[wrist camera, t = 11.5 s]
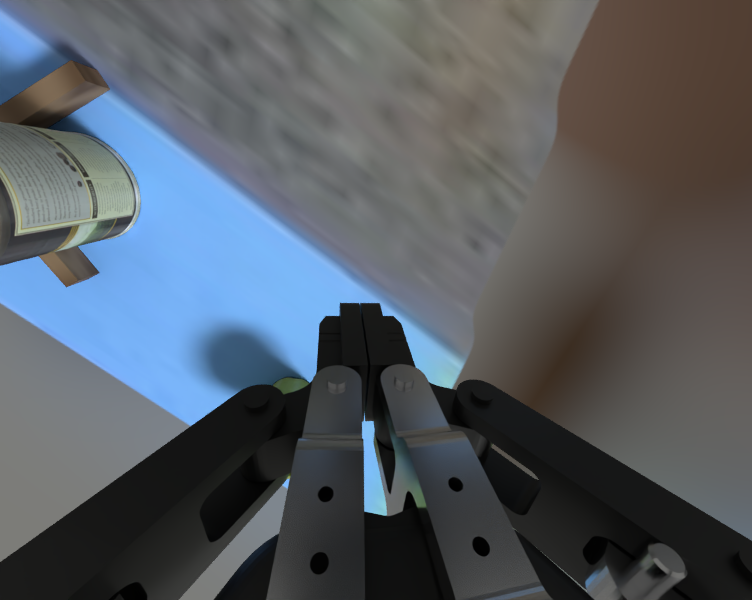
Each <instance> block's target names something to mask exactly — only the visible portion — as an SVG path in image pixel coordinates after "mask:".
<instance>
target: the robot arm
mask: <svg viewBox="0 0 752 600" xmlns="http://www.w3.org/2000/svg"><path fill="white" fill-rule="evenodd" d="M364 412H365V421H374V428H375V433H374V447H375V452H376V457H377V461H378V466H379V471H380V475H381V480H382V485H383V490H384V494H385V499H386V506H387V516H383V515H378V514H373V513H368V512H364V447H363V439H362V421H364ZM493 444H494V445H496V446H497V447H499V448H500V449H501V450H503V451H504V452H506V453H507V454H508V455H510V456H511V457H512V458H514V459H515V460H517V461H518V462H519V463H521V464H522V465H524V466H525V467H526V468H528V469H529V470H531V471H532V472H533V473H534V474H535V475H536V476H537V477H538V479H539V480H537V479H534V478H532V477H531V476H530V475H528V474H527V473H525V472H524V471H523V470H521V469H520V468H519V467H517V466H516V465H514V464H513V463H512V462H510V461H509V460H508V459H506V458H505V457H503V456H502V455H501V454H499V453H498V452H497V451H495V450H494V449H492V448H491V447H492V445H493ZM290 473H291V476H290V481H289V486H288V491H287V496H286V501H285V506H284V512H283V517H282V522H281V527H280V532H279V534H277V535H275V536H274V537H272V538H271V539H269V540H268V541H266V542H265V543H264V544H263V545H261V546H260V547H259V548H258V549H257V550H255V551H254V552H253V553H252V554H251V555H250V556H249V557H248V558H247V559H246V560H245V561H244V562H243V564H242V565H241V566H240V567H239V568H238V570H237V571H236V572H235V573H234V575H233V576H232V577H231V578H230V580H229V581H228V582H227V584H226V585H225V586H224V588H223V589H222V590H221V591H220V592H219V594H218V595H217V596H216V598H215V599H214V600H752V541H751V540H749V539H748V538H746V537H744V536H743V535H741V534H739V533H738V532H736V531H734V530H733V529H731V528H729V527H728V526H726V525H725V524H723V523H721V522H720V521H718V520H716V519H715V518H713V517H711V516H710V515H708V514H706V513H705V512H703V511H701V510H699V509H698V508H696V507H694V506H693V505H691V504H690V503H688V502H686V501H685V500H683V499H681V498H680V497H678V496H676V495H675V494H673V493H671V492H669V491H668V490H666V489H665V488H663V487H661V486H660V485H658V484H656V483H655V482H653V481H651V480H649V479H648V478H646V477H645V476H643V475H641V474H640V473H638V472H636V471H635V470H633V469H631V468H629V467H628V466H626V465H625V464H623V463H621V462H620V461H618V460H616V459H615V458H613V457H611V456H609V455H608V454H606V453H605V452H603V451H601V450H600V449H598V448H596V447H595V446H593V445H591V444H589V443H588V442H586V441H585V440H583V439H581V438H580V437H578V436H576V435H575V434H573V433H571V432H570V431H568V430H566V429H565V428H563V427H561V426H560V425H558V424H556V423H554V422H553V421H551V420H550V419H548V418H546V417H545V416H543V415H541V414H540V413H538V412H536V411H535V410H533V409H531V408H530V407H528V406H526V405H524V404H523V403H521V402H520V401H518V400H516V399H515V398H513V397H511V396H510V395H508V394H506V393H505V392H503V391H501V390H499V389H498V388H496V387H495V386H493V385H491V384H489V383H487V382H484V381H481V380H466V381H464V382H462V383H460V384H459V385H458V387H457V390H453V389H449V388H444V387H440V386H436V385H434V384H431V383H430V382H428V380H427V378H426V376H425V375H424V374H423V372H421V371H420V370H419V369H417V368H416V367H415V364H414V361H413V358H412V355H411V352H410V349H409V346H408V343H407V342H406V337H405V334H404V331H403V328H402V325H401V323H400V322H399V321H398V320H397V319H396V318H395V317H394V316H383V314H382V310H381V306H380V303H360V305H359V303H340V315H339V316H325V318H324V319H323V320H322V321H321V323H320V325H319V343H318V358H317V372H316V375H315V376H314V378H313V380H312V381H311V383H309V384H308V385H307V386H305V387H304V388H302V389H299V390H297V391H294V392H290V393H286V394H283V393H282V391H281V390H280V389H278V388H276V387H274V386H271V385H263V384H261V385H254V386H250V387H247V388H245V389H243V390H241V391H240V392H238V393H237V394H236V395H234V396H233V397H231V398H230V399H228V400H227V401H226V402H224V403H223V404H221V405H220V406H219V407H217V408H216V409H214V410H213V411H212V412H210V413H209V414H207V415H206V416H205V417H203V418H202V419H200V420H199V421H198V422H196V423H195V424H193V425H192V426H191V427H189V428H188V429H186V430H185V431H184V432H182V433H181V434H179V435H178V436H177V437H175V438H174V439H172V440H171V441H170V442H168V443H167V444H165V445H164V446H163V447H161V448H160V449H158V450H157V451H156V452H154V453H153V454H151V455H150V456H149V457H147V458H146V459H144V460H143V461H142V462H140V463H139V464H137V465H136V466H135V467H133V468H132V469H130V470H129V471H128V472H126V473H125V474H123V475H122V476H121V477H119V478H118V479H116V480H115V481H114V482H112V483H111V484H109V485H108V486H106V487H105V488H104V489H102V490H101V491H99V492H98V493H97V494H95V495H94V496H92V497H91V498H90V499H88V500H87V501H86V502H84V503H83V504H81V505H80V506H78V507H77V508H76V509H74V510H73V511H71V512H70V513H69V514H67V515H66V516H64V517H63V518H62V519H60V520H59V521H57V522H56V523H55V524H53V525H52V526H50V527H49V528H48V529H46V530H45V531H43V532H42V533H40V534H39V535H38V536H36V537H35V538H33V539H32V540H31V541H29V542H28V543H26V544H25V545H24V546H22V547H21V548H19V549H18V550H17V551H15V552H14V553H12V554H11V555H10V556H8V557H7V558H6V559H4V560H3V561H1V562H0V600H179V599H180V598H181V596H182V595H183V594H184V593H185V592H186V591H187V590H188V589H189V588H190V586H191V585H192V584H193V583H194V582H195V581H196V580H197V579H198V577H199V576H200V575H201V574H202V573H203V572H204V571H205V570H206V569H207V568H208V566H209V565H210V564H211V563H212V562H213V561H214V560H215V559H216V558H217V557H218V555H219V554H220V553H221V552H222V551H223V550H224V549H225V548H226V547H227V545H228V544H229V543H230V542H231V541H232V540H233V539H234V538H235V536H236V535H237V534H238V533H239V532H240V531H241V530H242V529H243V527H245V525H246V524H247V523H248V522H249V521H250V520H251V519H252V518H253V517H254V516H255V514H256V513H257V512H258V511H259V510H260V509H261V508H262V507H263V505H264V504H265V503H266V502H267V501H268V500H269V499H270V498H271V497H272V496H273V494H274V493H275V492H276V491H277V490H278V489H279V488H280V487H281V486H282V484H283V483H284V482H285V481H286V479H287V478H288V476H289V474H290ZM513 528H514V529H516V530H517V531H518V532H517V531H516V530H514V529H513ZM536 547H537V548H538V549H537V548H536ZM542 552H543V553H544V554H545V555H546V556H547V557H546V556H545V555H544V554H543V553H542ZM549 558H550V559H551V560H552V561H553V562H554V563H555V564H557V565H558V566H559V567H560V568H561V569H563V570H564V571H565V572H566V573H567V574H568V575H570V576H571V577H572V578H573V579H574V580H576V581H577V582H578V583H579V584H580V585H581V586H582V587H584V588H585V589H586V590H587V592H585V591H584V590H583V589H582V588H581V587H580V586H579V585H577V583H575V582H574V581H573V580H572V579H571V578H570V577H569V576H568V575H566V574H565V573H564V572H563V571H562V570H561V569H560V568H559V567H557V566H556V565H555V564H554V563H553V562H552V561H551V560H550V559H549Z"/></svg>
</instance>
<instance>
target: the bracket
mask: <svg viewBox="0 0 752 600" xmlns="http://www.w3.org/2000/svg"><path fill="white" fill-rule="evenodd" d="M108 90H110V88H109V87H108V85H107V84H106V82H105V81H104V80H103V78H102V77H101V75H100V74H99V72H98V71H97V70H95V69H92V68H90V67H87V66H85V65H82V64H80V63H77V62H75V61H72V60H71V61H69V62H67V63H66V64H64V65H63V66H61V67H60V68H58V69H56V70H55V71H53V72H52V73H50V74H49V75H47V76H46V77H44V78H42V79H41V80H39V81H38V82H36V83H35V84H33V85H32V86H30V87H28V88H27V89H25V90H24V91H22V92H21V93H19V94H18V95H16V96H14V97H13V98H11V99H10V100H8V101H7V102H5V103H3V104H2V105H0V122H4V123H12V124H17V125H24V126H30V127H37V128H44V129H47V128H48V127H50V126H52V125H53V124H55V123H56V122H58V121H60V120H61V119H63V118H65V117H66V116H68V115H69V114H71V113H73V112H74V111H76V110H77V109H79V108H81V107H82V106H84V105H86V104H87V103H89V102H90V101H92V100H94V99H95V98H97V97H99V96H100V95H102V94H103V93H105V92H107V91H108ZM39 257H40V258H41V259H42V260H43V262H44V263H45V264H46V265H47V266H48V267H49V268H50V269H51V271H52V272H53V273H54V274H55V275H56V276H57V277H58V278H59V280H60V281H61V282H62V283H63V284H64V285H65V286H66V287H68V286H71V285H73V284H76V283H79V282H81V281H84V280H87V279H89V278H91V277H93V276H95V275H96V274H98V273H99V272H98V270H97V269H96V268H95V267H94V266H93V264H92V263H91V262H90V261H89V260H88V259H87V257H86V256H85V255H84V254H83V253H82V251H81V250H80V249H79V248H78V247H77V246H76V247H72V248H69V249H64V250H60V251H56V252H52V253H48V254H44V255H40V256H39Z"/></svg>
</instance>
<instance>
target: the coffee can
mask: <svg viewBox="0 0 752 600" xmlns="http://www.w3.org/2000/svg"><path fill="white" fill-rule="evenodd" d="M140 204H141V199H140V192H139V187H138V184H137V181H136V179H135V176H134V174H133V172H132V171H131V169H130V168H129V166H128V165H127V163H126V162H125V161H124V160H123V158H122V157H121V156H120V155H119V154H118V153H117V152H116V151H114V150H113V149H112V148H111V147H109V146H108V145H106V144H105V143H103V142H101V141H100V140H98V139H97V138H94V137H91V136H89V135H86V134H82V133H78V132H64V131H57V130H50V129H44V128H37V127H30V126H24V125H17V124H12V123H4V122H0V265H5V264H9V263H12V262H16V261H20V260H24V259H28V258H32V257H36V256H40V255H44V254H48V253H52V252H56V251H60V250H64V249H69V248H72V247H76V246H80V245H84V244H88V243H92V242H96V241H100V240H104V239H112V238H115V237H118V236H120V235H122V234H124V233H126V232H127V231H128V230H129V229H130V228H131V227H132V226H133V225H134V223H135V222H136V220H137V218H138V215H139V212H140Z"/></svg>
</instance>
